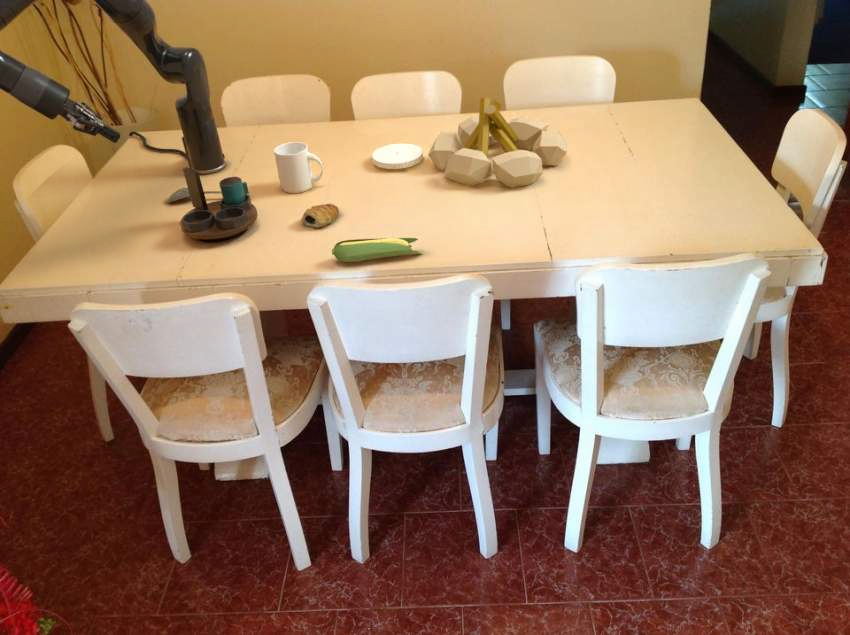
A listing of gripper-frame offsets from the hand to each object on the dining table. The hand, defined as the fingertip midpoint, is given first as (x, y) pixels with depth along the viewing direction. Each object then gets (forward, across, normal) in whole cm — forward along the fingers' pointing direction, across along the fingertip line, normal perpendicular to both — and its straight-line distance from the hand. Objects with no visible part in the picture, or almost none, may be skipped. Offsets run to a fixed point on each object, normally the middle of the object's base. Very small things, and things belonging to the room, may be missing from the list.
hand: (118, 138), depth 163 cm
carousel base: (+29, -6, +5) cm, 30 cm away
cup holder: (+27, -5, +3) cm, 28 cm away
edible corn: (+51, -35, -18) cm, 64 cm away
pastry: (+45, -12, -12) cm, 48 cm away
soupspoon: (0, +11, -23) cm, 25 cm away
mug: (+45, +10, -11) cm, 48 cm away
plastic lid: (+64, +14, -31) cm, 72 cm away
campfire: (+81, 0, -48) cm, 94 cm away
